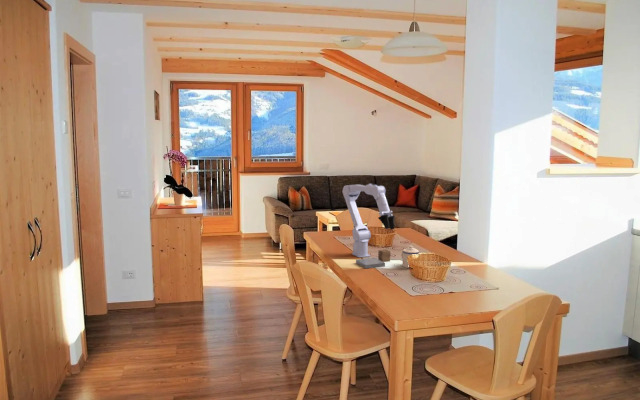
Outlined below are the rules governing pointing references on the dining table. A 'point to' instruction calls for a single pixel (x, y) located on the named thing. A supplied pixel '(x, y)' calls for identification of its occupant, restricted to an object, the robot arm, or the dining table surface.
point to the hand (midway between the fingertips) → (390, 228)
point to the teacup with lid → (406, 253)
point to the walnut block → (384, 255)
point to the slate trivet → (370, 263)
